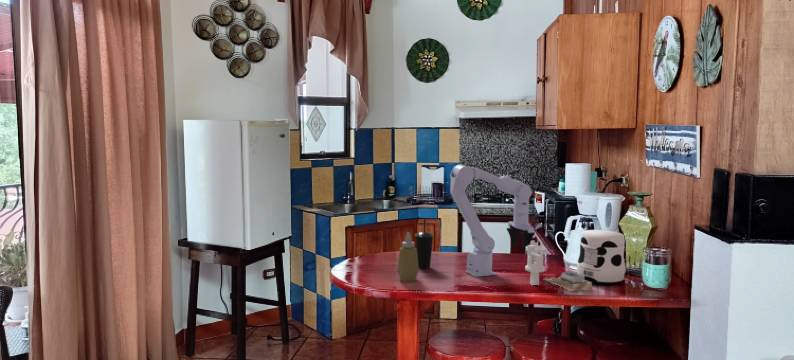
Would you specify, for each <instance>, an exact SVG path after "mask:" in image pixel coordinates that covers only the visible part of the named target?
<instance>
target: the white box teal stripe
mask: <svg viewBox="0 0 794 360" xmlns="http://www.w3.org/2000/svg"><path fill="white" fill-rule="evenodd" d="M559 277H560V279H561V280H563V281H567V282H569V283H572V284H577V283H584V276H582V275H579V274H578V273H575V272H573V271H570V272H562V273H561V275H559Z"/></svg>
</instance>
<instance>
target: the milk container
mask: <svg viewBox="0 0 794 360" xmlns="http://www.w3.org/2000/svg"><path fill="white" fill-rule="evenodd" d="M579 243H580V244H579V257H578V259H577V263H576V272H577V273H576V274H579V275H582V276H584V280H586V281H589V282H592V284H593V283H594V284H599V285H612V284H618V283H621V282H623V281H624V279H625V277H626V263H625V258H624V254H625V243H626V242H625V235H624V234H623V233H621V232H617V231H612V230H606V229H605V230H604V229H587V230H584V231H581V233H580V242H579Z"/></svg>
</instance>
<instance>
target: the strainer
mask: <svg viewBox="0 0 794 360" xmlns="http://www.w3.org/2000/svg"><path fill="white" fill-rule="evenodd" d="M525 251H526V252H527V253H526V255H527V264H526V265H525V267H524V270H525V271H526V272H530V275H529V277H530V279H529V280H530V281H529V285H530V284H531V285H530V286H533V285H538V286H539V285H540V273H543V272H546V267H545V266H544V254H545V253H546V251H547V249H546V247H545V246H543V245H536V244H530V245H528V246H526V250H525Z"/></svg>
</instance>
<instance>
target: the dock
mask: <svg viewBox="0 0 794 360" xmlns="http://www.w3.org/2000/svg"><path fill="white" fill-rule="evenodd" d="M557 277H558V278H556V277H555V276H552V277H550V279H548V278H542V279H543V281H544V280H545V282H546V281H548V282H547V283H549V282H550V283H549V284H551V285H554V284H555V285H554V286H556V285H558V286H561V287H563V288H565V289H567V290H570V291H576V292H579V291H578V290H584V291H589V290H588V289H592V290H593V282H589V281H586V280H584V283H577V284H572V283H569V282H567V281H563V280H561V279H560V276H557ZM558 286H557V287H558ZM561 287H560V288H561ZM563 288H562V289H563ZM565 289H564V290H565ZM567 290H566V291H567ZM570 291H569V292H570Z"/></svg>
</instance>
